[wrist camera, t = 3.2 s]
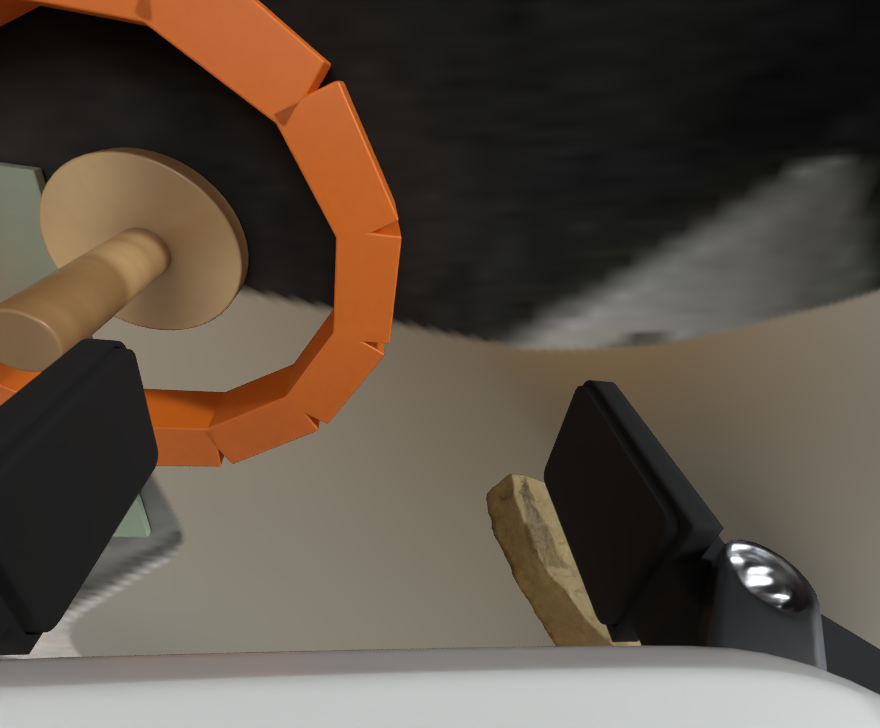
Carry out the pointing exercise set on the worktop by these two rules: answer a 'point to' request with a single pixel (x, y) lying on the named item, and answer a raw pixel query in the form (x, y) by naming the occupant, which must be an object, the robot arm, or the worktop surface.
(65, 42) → the worktop surface
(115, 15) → the ring
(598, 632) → the rock
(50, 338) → the wooden peg disc
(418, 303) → the worktop surface
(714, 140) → the worktop surface
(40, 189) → the mat
